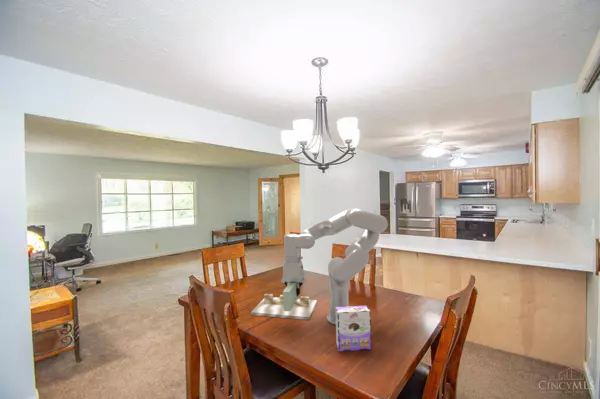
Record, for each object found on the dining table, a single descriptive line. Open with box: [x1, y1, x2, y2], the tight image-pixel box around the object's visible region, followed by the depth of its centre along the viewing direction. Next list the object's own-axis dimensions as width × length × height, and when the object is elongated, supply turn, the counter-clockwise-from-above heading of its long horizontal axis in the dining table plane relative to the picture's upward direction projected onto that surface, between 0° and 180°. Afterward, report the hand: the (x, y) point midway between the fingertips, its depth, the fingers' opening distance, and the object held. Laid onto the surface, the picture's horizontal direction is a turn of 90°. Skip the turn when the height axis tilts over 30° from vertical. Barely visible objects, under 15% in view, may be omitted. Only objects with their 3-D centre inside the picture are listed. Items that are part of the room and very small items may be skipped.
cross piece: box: [282, 282, 300, 311], centre depth 132 cm, size 16×3×9 cm, turn 166°
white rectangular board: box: [250, 293, 318, 321], centre depth 155 cm, size 32×22×6 cm
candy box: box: [335, 305, 372, 352], centre depth 115 cm, size 14×6×16 cm, turn 92°
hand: (294, 294), depth 137 cm, fingers closed on cross piece, 3 cm apart
